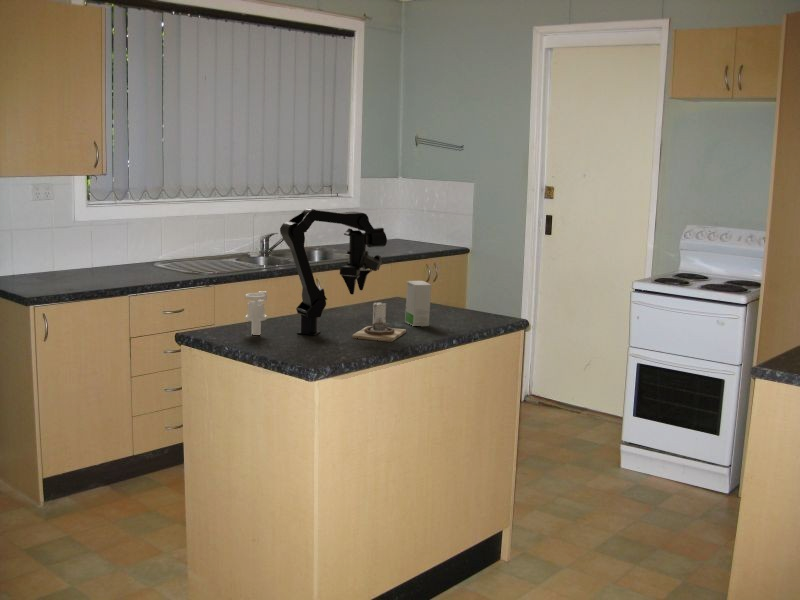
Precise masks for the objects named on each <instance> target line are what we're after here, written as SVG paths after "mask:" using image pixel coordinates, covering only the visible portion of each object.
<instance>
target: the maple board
mask: <svg viewBox="0 0 800 600" xmlns="http://www.w3.org/2000/svg"><path fill="white" fill-rule="evenodd" d="M371 328H373V325H367V326H366V327H363V328H362V329H360V330H359V331H357V332H354V333H353V334H352V335H351V339H357V338H358V339H359V340H368V341H369V340H370V341H377V340H378V341H377V342H379V341H380V342H388V343H392V342H394V341H395V340H397V339H398V338H399V337H401V336H403V335H404V334H406V331H407V329H406V328H405V329H404V328H394V327H393V328H392V327H389V326H386V327H385V328H386V329H388V332H373V331H370V329H371Z"/></svg>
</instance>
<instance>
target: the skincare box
mask: <svg viewBox="0 0 800 600" xmlns="http://www.w3.org/2000/svg"><path fill="white" fill-rule="evenodd" d="M431 296H432V284H430V283H428V282H427V281H424V280H407V281H406V299H405V313H404V315H405V316H404V323H406V324H408V325H409V324H410V325H409V326H411V325H412V326H411V327H413V326H421V327H429V326H430V312H431Z"/></svg>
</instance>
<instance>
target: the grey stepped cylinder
mask: <svg viewBox="0 0 800 600" xmlns="http://www.w3.org/2000/svg"><path fill="white" fill-rule="evenodd" d="M267 292H268V291H266V290H264V291H263V290H259V291H258V292H249V293H246V294H245V296H244V297H245V300H249V301H248V302H247V314H246V315H245V321H248V322H251V335H252V334H253V335H260V334H261V335H262V333H261V329H262V324H261V323H262V322H264V321H266V320H268V315H267V314H265V303H267V302H268V301H267V299H268V293H267ZM261 335H260V336H261Z"/></svg>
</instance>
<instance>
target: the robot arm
mask: <svg viewBox="0 0 800 600" xmlns="http://www.w3.org/2000/svg"><path fill="white" fill-rule="evenodd" d="M315 222H321V223H322V222H323V223H324V222H325V223H330V224H331V223H332V224H338V225H339V224H340V225H342V226H346V227H349V228H347V229H346V231H344V232H343V236H348V237H349V241H348V242H349V245H348V246H349V250H348V251H347V253H346V255H348V262H347V263H346V265H343V266H342V267H340V268H339V276H341V277H342V280H343V281H344V283H345V285H346V287H347V290H348V292H349V294H350V295H355V289H356V283H357V285H358V289H359V291H364V287H365V284H366V280H367V277H368V275H369V274H370V273H371V272H377V271H379V270H380V268H381V265H383V260H382V256H380V255H379V254H377V255H375V256H371V255H369V251H368V250H367V247H368V248H385V247H386V245H387V242H388V238H387V235H386V232H385V228H384V227H376V228H375V227H373V225H372V224H371V222H370V219H369V216H368V215H367V213H365V212H359V211H344V212H334V211H327V210H326V211H325V210H317V209H314V208H309V207H308V208H305V209H304V210H303V211H301V212H300V213H299V214H297V215H295V216H293V217H292V218H291V219H289V220H288V221H285V222H283V223H282V224H281V226H280V227H279V232H280V235H281V237H282V239H283V241H284V243H285V244H286V246H287V247H288V248H289V249H290V251H291V255H292V258H293V261H294V265H295V268H296V271H297V274H298V277H299V280H300V283H301V286H302V290H301V291H302V292H301V298H302V300H301V302H300V303H299V304H298V306H297V307H296V308H295V309H296V313H297V314H298V315H300V330H299V331H297V332H296V335H304V334H305V336H316V335H317V334H319V333H321V332H322V330H320V329H319V330H318V318H321V317H322V314H323V311H324V309H325V308H326V306H327V301H328V298H327V297H326V295H325V294H326V293H325V289H324V288H323V287H320V286H318V285H317V284H316V281H315V278H314V274H313V272H312V268H311V265H310V262H309V257H308V255H307V252H306V249H305V242H306V236H305V235H306V234H305V233H306V232H307V231H308V230H309V229H310V228H311V226H312V225H313V223H315ZM352 228H353V229H355V230H353V229H352ZM362 231H363V232H362Z"/></svg>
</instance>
